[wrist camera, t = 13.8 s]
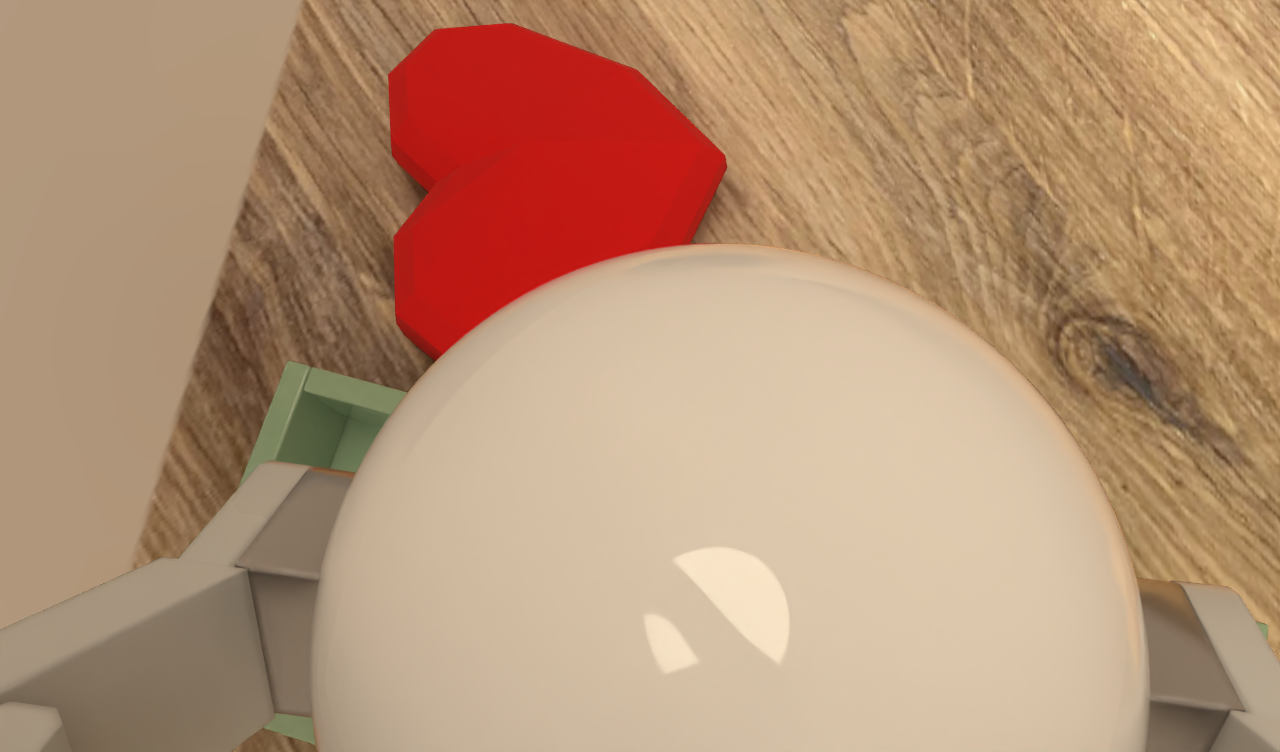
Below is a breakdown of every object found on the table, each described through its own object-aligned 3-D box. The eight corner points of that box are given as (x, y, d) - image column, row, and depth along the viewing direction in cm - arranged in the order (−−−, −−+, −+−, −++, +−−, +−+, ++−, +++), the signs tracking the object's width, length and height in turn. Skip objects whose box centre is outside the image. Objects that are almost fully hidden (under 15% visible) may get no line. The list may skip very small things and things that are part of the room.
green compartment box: (234, 686, 27) (156, 694, 23) (341, 396, 29) (286, 359, 25) (1136, 973, 24) (1221, 1039, 20) (1184, 626, 26) (1270, 624, 22)
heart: (691, 68, 34) (401, 92, 33) (701, -31, 30) (373, -6, 29) (753, 374, 28) (413, 412, 28) (775, 303, 25) (381, 345, 24)
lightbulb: (752, 949, 14) (912, 1824, 4) (431, 676, 16) (-133, 742, 5) (984, 599, 15) (1615, 497, 5) (667, 372, 17) (616, -98, 6)
